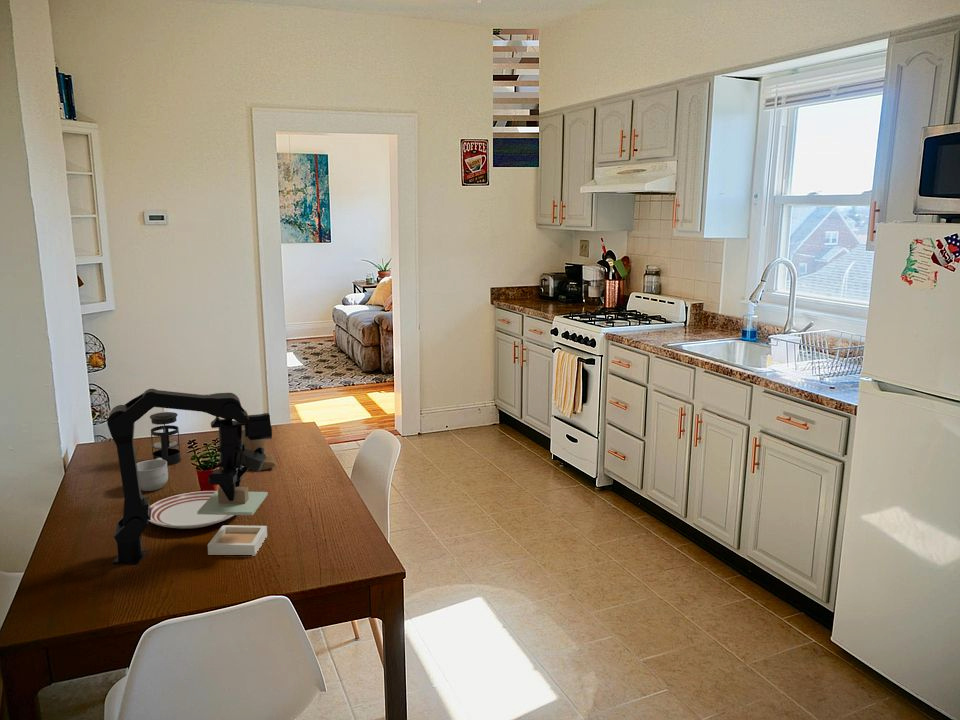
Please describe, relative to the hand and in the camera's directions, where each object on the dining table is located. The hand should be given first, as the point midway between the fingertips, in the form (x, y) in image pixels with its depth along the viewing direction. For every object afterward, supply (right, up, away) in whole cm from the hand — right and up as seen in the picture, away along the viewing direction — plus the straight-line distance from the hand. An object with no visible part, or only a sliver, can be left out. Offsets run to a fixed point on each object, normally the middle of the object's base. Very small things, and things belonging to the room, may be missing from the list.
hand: (233, 498), depth 194 cm
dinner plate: (-17, -9, +20) cm, 28 cm away
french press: (-45, 0, +64) cm, 79 cm away
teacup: (-40, -4, +42) cm, 58 cm away
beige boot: (-13, 0, +63) cm, 64 cm away
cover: (0, -2, 0) cm, 2 cm away
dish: (+1, -13, +2) cm, 13 cm away
